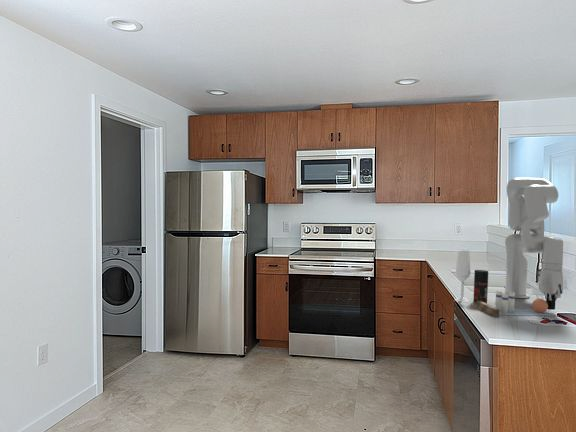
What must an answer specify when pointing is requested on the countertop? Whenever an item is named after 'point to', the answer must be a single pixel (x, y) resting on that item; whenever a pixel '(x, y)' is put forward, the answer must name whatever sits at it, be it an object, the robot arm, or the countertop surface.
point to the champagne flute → (463, 271)
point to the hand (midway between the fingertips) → (550, 309)
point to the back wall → (488, 308)
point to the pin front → (511, 302)
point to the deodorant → (480, 286)
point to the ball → (540, 305)
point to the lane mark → (526, 313)
